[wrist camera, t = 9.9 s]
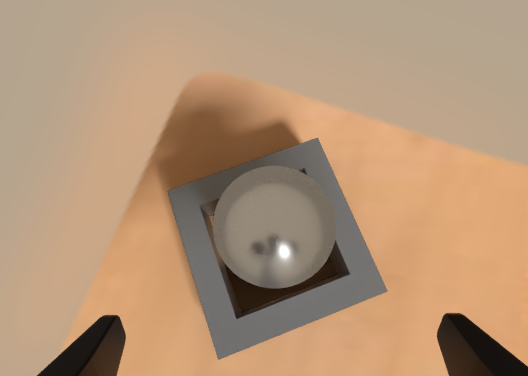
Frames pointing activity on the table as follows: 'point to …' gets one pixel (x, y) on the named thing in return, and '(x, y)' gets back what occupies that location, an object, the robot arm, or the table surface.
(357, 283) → the grey square frame
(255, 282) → the steel shaft
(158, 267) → the table surface
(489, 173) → the table surface
